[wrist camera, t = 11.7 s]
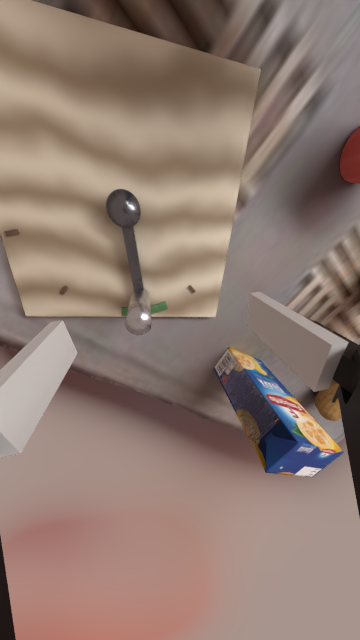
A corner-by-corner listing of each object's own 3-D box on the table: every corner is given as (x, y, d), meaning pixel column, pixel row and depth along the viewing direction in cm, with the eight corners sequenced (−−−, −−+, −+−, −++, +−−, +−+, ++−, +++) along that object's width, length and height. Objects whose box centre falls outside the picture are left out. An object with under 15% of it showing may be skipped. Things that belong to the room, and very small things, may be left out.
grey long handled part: (105, 193, 25) (79, 167, 15) (138, 191, 25) (133, 165, 15) (129, 306, 32) (123, 337, 22) (154, 302, 33) (157, 332, 23)
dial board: (-66, -14, 17) (-87, -39, 15) (254, 78, 24) (262, 67, 22) (30, 312, 31) (24, 316, 30) (213, 314, 38) (215, 317, 36)
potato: (350, 378, 57) (379, 398, 50) (314, 405, 60) (337, 428, 53) (337, 365, 53) (367, 386, 46) (300, 396, 56) (322, 419, 49)
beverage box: (245, 379, 49) (312, 477, 29) (213, 368, 45) (265, 472, 25) (260, 360, 46) (344, 452, 27) (228, 347, 43) (298, 443, 23)
